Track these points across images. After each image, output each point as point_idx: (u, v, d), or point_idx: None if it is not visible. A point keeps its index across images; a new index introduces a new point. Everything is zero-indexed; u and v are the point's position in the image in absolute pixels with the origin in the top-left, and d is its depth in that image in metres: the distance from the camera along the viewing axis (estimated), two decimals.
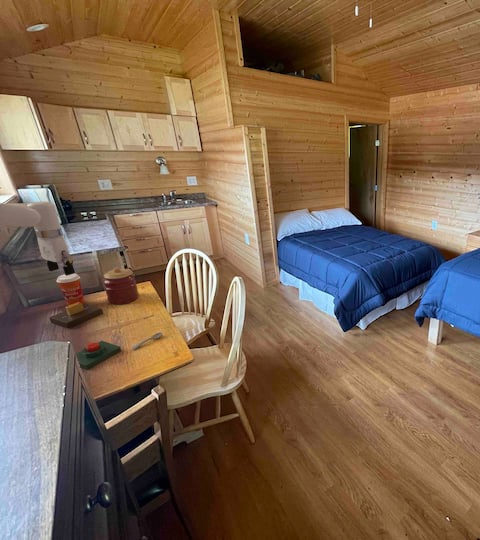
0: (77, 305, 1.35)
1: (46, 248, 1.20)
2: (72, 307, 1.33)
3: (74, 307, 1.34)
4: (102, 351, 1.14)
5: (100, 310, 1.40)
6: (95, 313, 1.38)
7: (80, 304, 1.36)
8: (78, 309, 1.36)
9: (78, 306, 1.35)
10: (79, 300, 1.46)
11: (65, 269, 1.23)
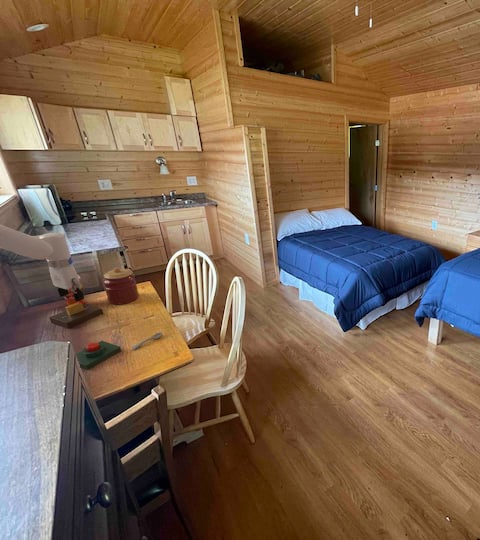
0: (77, 305, 1.35)
1: (57, 276, 1.26)
2: (72, 307, 1.33)
3: (74, 307, 1.34)
4: (102, 351, 1.14)
5: (100, 310, 1.40)
6: (95, 313, 1.38)
7: (80, 304, 1.36)
8: (78, 309, 1.36)
9: (78, 306, 1.35)
10: None
11: (75, 295, 1.30)
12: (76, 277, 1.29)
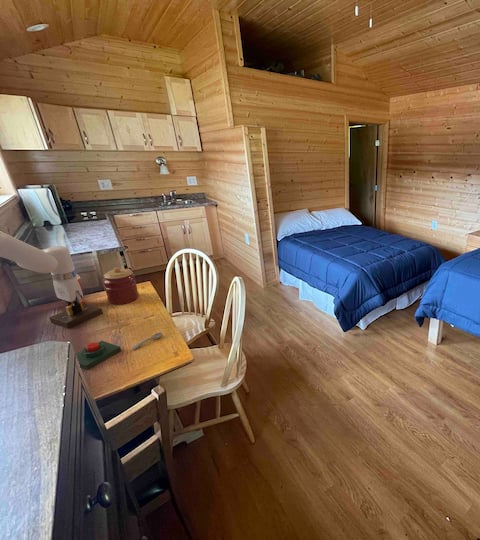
0: None
1: (61, 289, 1.28)
2: None
3: None
4: (102, 351, 1.14)
5: (100, 310, 1.40)
6: (95, 313, 1.38)
7: (80, 304, 1.36)
8: None
9: None
10: None
11: (73, 308, 1.33)
12: (79, 289, 1.31)
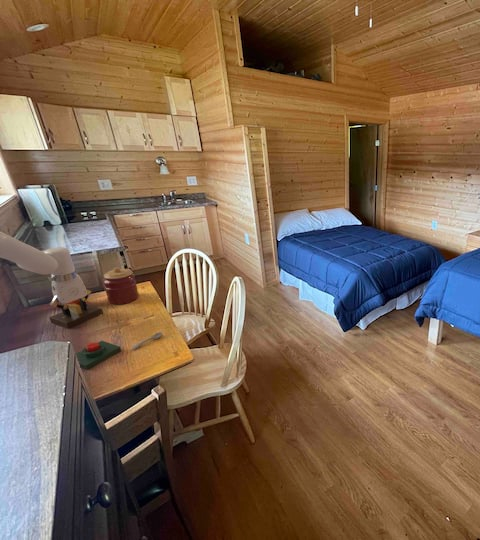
0: None
1: (74, 288, 1.31)
2: None
3: None
4: (102, 351, 1.14)
5: (100, 310, 1.40)
6: (95, 313, 1.38)
7: None
8: None
9: None
10: (79, 300, 1.46)
11: None
12: None
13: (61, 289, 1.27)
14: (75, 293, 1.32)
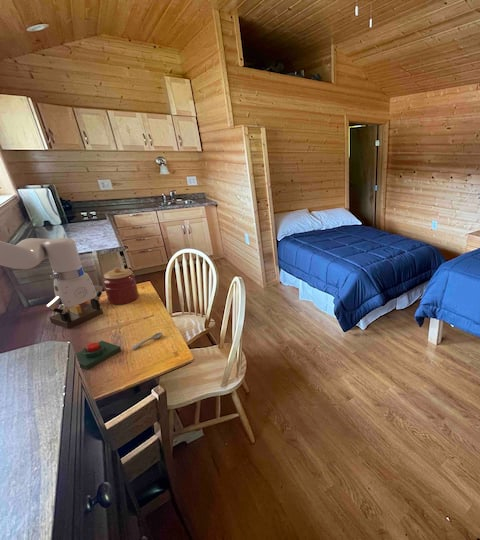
0: None
1: (81, 288, 1.07)
2: None
3: None
4: (102, 351, 1.14)
5: (100, 310, 1.40)
6: (95, 313, 1.38)
7: None
8: None
9: None
10: None
11: None
12: None
13: (66, 289, 1.03)
14: (82, 294, 1.08)
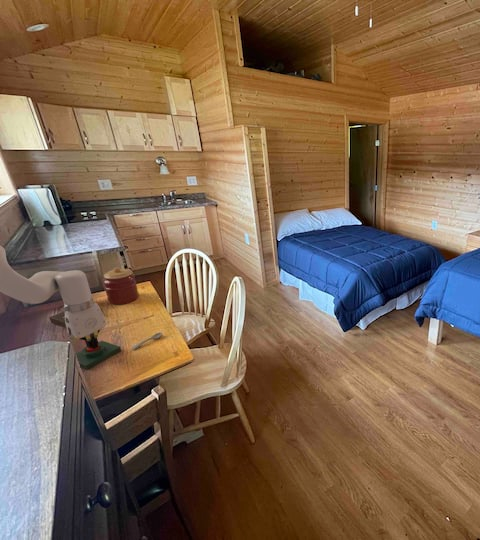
0: None
1: (91, 319, 1.08)
2: None
3: None
4: (102, 351, 1.14)
5: None
6: None
7: None
8: None
9: None
10: None
11: None
12: None
13: (76, 321, 1.04)
14: (92, 324, 1.09)
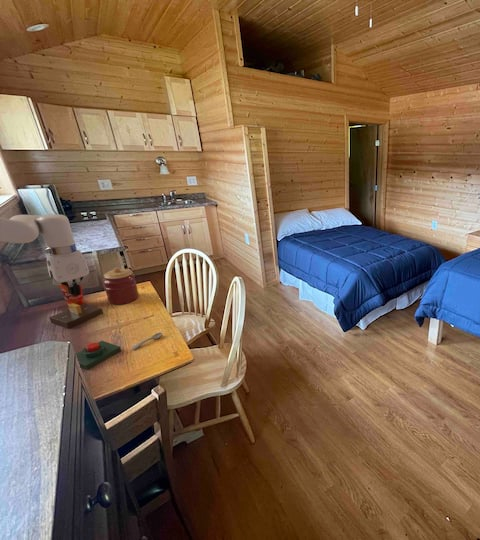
0: None
1: (73, 264, 1.10)
2: None
3: None
4: (102, 351, 1.14)
5: (100, 310, 1.40)
6: (95, 313, 1.38)
7: None
8: None
9: None
10: (79, 300, 1.46)
11: None
12: None
13: (58, 264, 1.06)
14: (75, 270, 1.11)
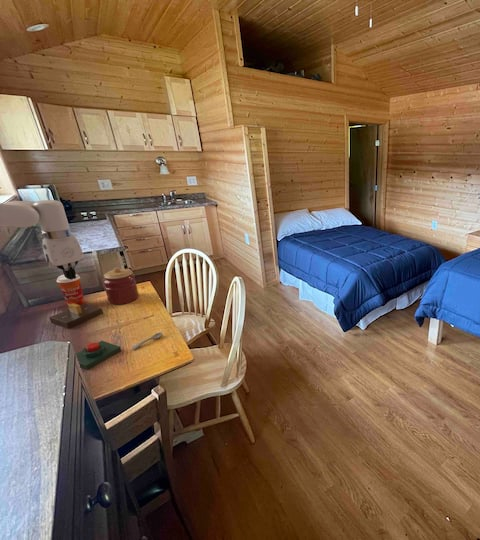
0: None
1: (68, 248, 1.14)
2: None
3: None
4: (102, 351, 1.14)
5: (100, 310, 1.40)
6: (95, 313, 1.38)
7: None
8: None
9: None
10: (79, 300, 1.46)
11: None
12: None
13: (54, 248, 1.10)
14: (70, 254, 1.15)
